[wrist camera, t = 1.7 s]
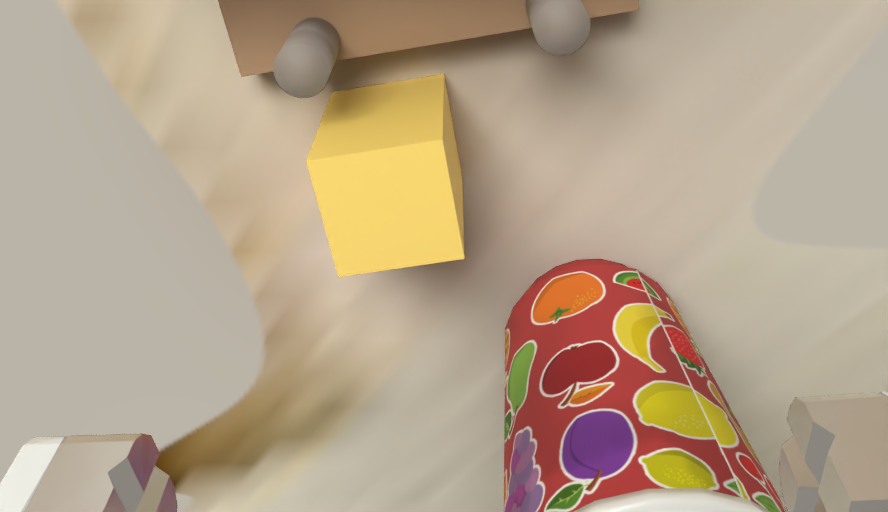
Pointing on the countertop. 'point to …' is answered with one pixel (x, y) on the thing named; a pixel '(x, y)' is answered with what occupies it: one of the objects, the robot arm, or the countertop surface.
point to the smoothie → (617, 404)
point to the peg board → (389, 30)
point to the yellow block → (389, 177)
